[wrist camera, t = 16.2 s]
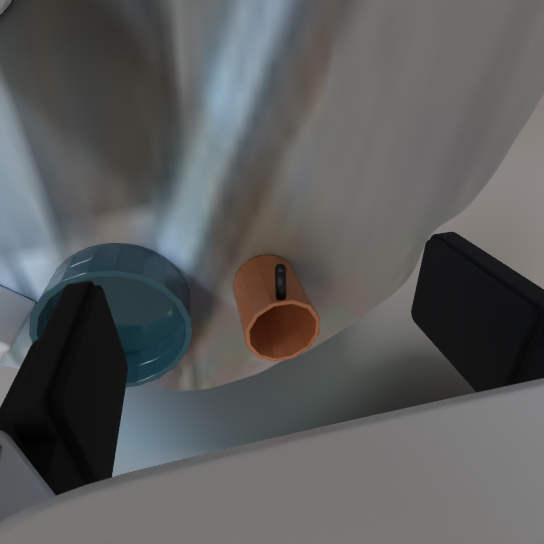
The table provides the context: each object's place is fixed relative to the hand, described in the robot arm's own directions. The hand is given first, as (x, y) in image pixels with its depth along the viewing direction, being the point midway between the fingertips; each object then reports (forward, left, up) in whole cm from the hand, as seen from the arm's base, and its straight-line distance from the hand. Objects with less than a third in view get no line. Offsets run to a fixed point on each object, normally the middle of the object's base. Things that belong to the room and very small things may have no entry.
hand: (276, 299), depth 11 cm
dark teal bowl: (+2, -20, -26) cm, 33 cm away
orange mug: (+13, -9, -26) cm, 31 cm away
